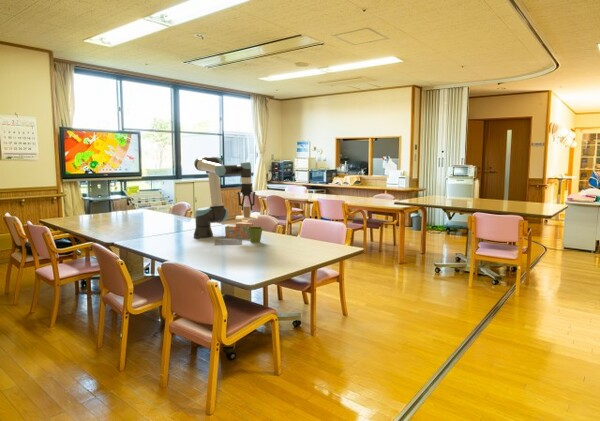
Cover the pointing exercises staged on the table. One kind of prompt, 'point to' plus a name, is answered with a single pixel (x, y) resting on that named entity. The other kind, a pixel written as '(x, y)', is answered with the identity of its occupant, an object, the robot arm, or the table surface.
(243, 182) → the robot arm
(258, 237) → the plant pot
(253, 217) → the lid
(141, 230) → the table surface
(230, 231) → the stack of blocks
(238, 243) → the mat
